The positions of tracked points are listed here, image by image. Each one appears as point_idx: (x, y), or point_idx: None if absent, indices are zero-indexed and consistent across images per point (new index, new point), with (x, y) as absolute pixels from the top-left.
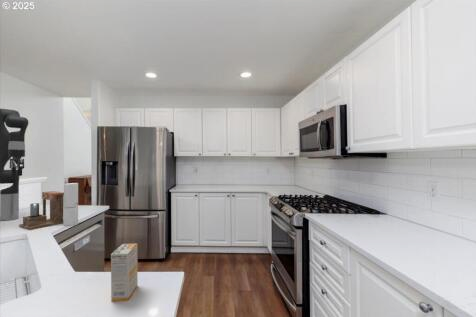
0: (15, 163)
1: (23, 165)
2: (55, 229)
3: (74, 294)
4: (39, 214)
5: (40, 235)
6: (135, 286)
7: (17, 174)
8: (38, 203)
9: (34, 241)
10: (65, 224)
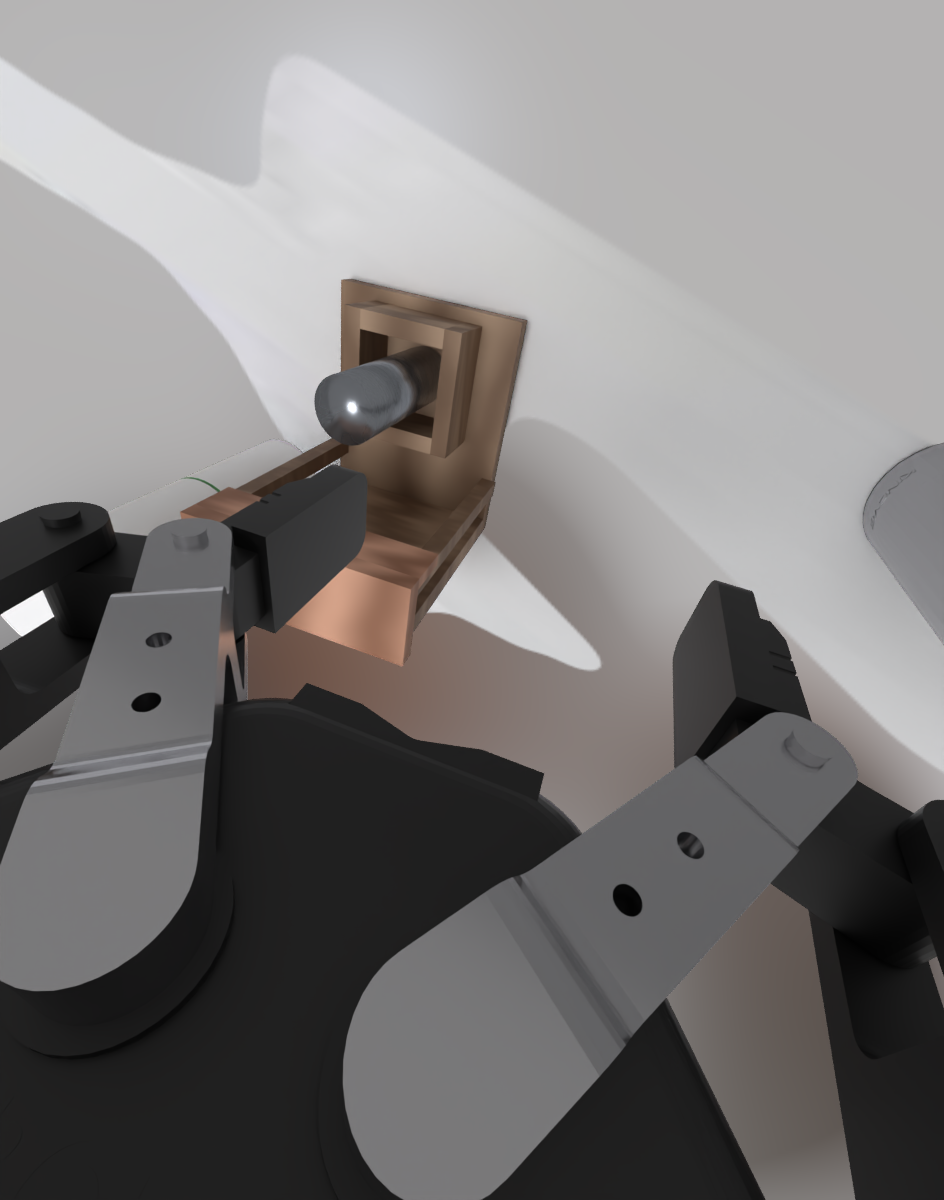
0: (89, 677)
1: (8, 652)
2: (237, 357)
3: None
4: (442, 452)
5: (158, 212)
6: None
7: (323, 473)
8: (331, 432)
9: (42, 93)
10: (269, 441)
